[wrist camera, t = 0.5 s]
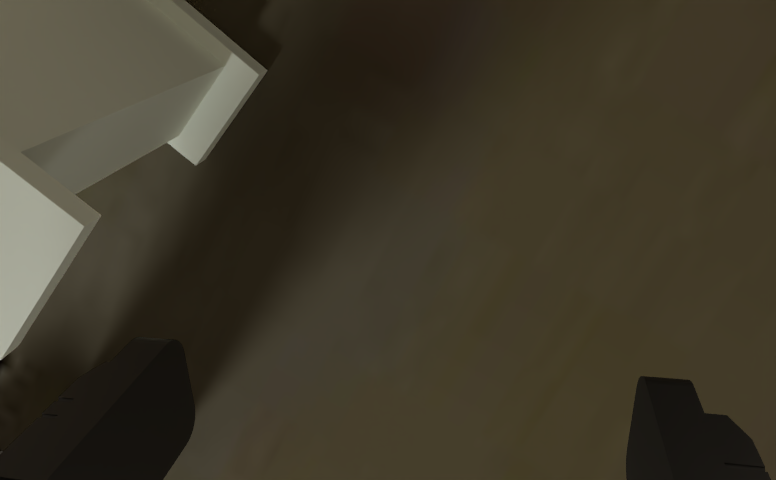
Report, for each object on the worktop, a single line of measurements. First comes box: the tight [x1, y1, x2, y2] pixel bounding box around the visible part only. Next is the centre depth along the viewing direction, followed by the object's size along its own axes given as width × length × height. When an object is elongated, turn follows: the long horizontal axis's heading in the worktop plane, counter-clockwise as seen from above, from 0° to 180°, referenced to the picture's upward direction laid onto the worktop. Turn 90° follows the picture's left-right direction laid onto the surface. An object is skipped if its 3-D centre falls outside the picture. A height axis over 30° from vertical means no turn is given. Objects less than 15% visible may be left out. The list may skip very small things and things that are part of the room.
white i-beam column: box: [0, 0, 268, 360], centre depth 33 cm, size 8×16×22 cm, turn 52°
